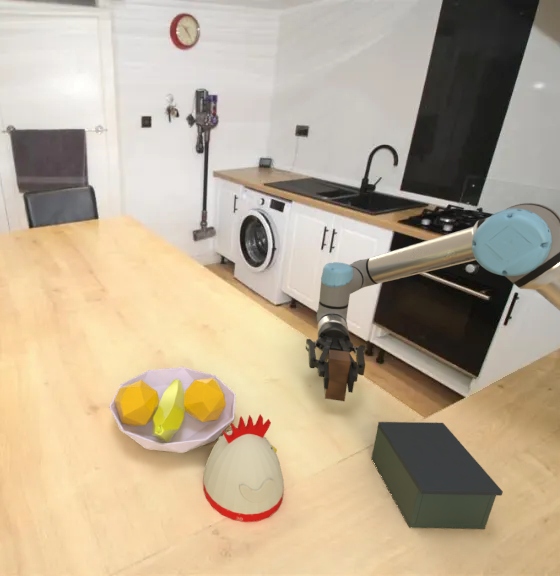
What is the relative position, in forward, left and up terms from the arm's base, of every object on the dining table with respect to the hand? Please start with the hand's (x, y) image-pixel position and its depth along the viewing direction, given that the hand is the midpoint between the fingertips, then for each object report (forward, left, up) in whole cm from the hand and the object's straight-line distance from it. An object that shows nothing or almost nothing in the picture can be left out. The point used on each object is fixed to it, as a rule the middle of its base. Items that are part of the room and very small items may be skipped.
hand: (338, 384), depth 83 cm
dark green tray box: (-14, +14, -10) cm, 22 cm away
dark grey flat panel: (-14, +14, -2) cm, 20 cm away
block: (0, -5, -6) cm, 8 cm away
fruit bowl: (+33, +10, -10) cm, 36 cm away
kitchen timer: (+16, +22, -10) cm, 29 cm away
